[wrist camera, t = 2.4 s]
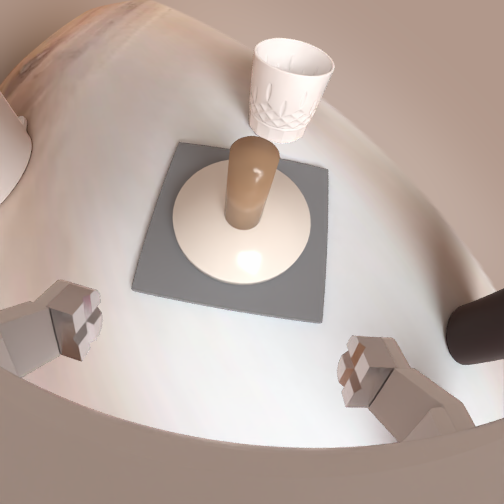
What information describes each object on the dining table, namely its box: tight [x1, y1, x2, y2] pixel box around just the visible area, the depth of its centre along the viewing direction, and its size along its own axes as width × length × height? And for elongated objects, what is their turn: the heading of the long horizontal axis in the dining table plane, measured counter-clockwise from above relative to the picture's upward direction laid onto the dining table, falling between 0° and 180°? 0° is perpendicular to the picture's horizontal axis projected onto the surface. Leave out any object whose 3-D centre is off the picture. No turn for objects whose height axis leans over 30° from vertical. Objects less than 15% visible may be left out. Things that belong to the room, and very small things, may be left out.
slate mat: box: [131, 142, 328, 323], centre depth 27 cm, size 16×16×1 cm
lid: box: [173, 136, 311, 285], centre depth 22 cm, size 12×12×9 cm
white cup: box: [249, 38, 335, 144], centre depth 28 cm, size 8×8×10 cm
